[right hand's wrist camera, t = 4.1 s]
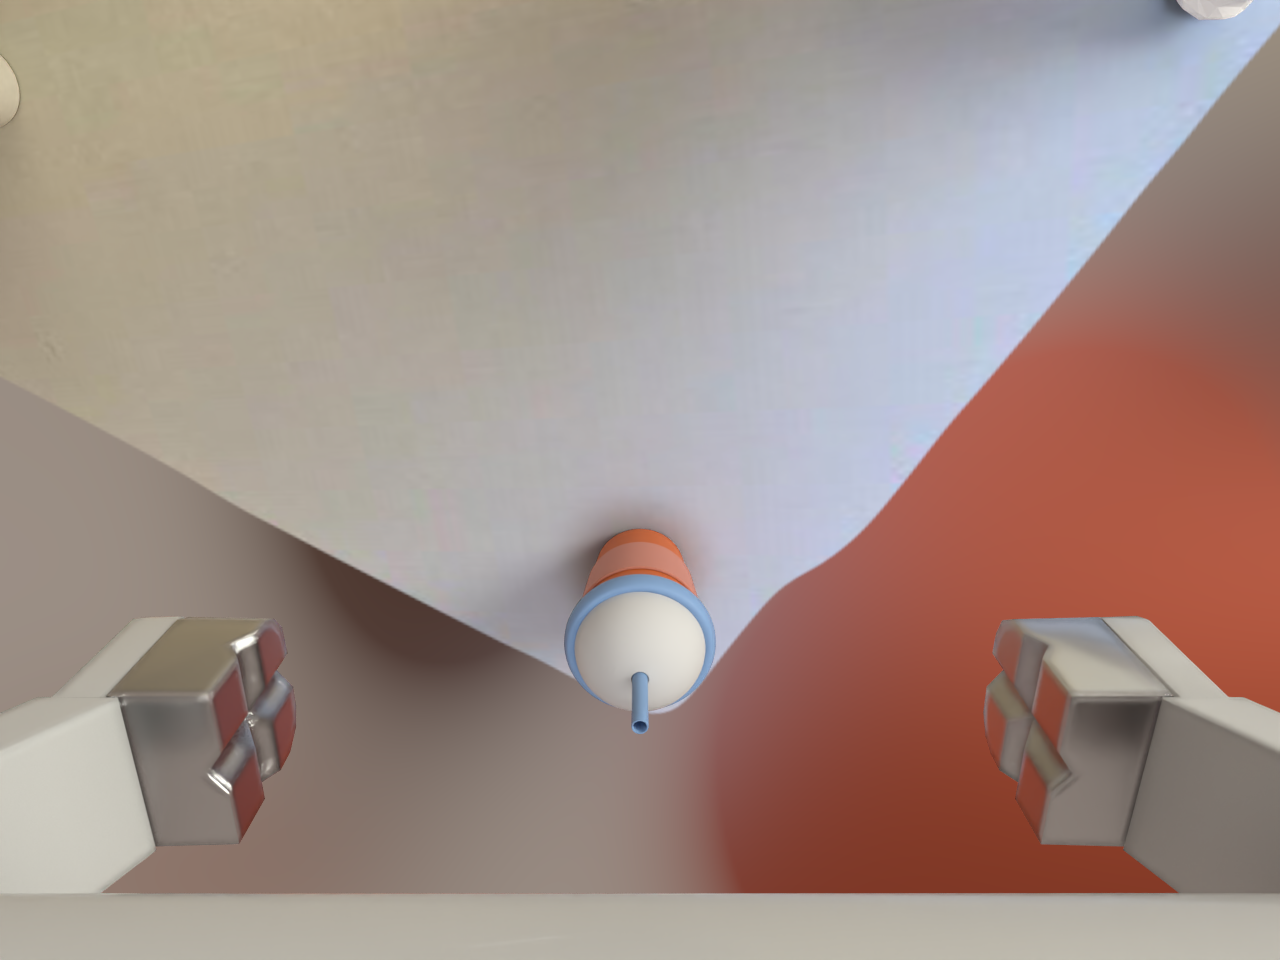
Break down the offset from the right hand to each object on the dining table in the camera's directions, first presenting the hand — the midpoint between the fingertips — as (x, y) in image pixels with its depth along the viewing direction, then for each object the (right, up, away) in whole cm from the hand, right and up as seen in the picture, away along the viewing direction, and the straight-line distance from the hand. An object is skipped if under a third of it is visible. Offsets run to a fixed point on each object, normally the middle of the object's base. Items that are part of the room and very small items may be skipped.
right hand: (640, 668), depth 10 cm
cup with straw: (0, -4, +53) cm, 53 cm away
